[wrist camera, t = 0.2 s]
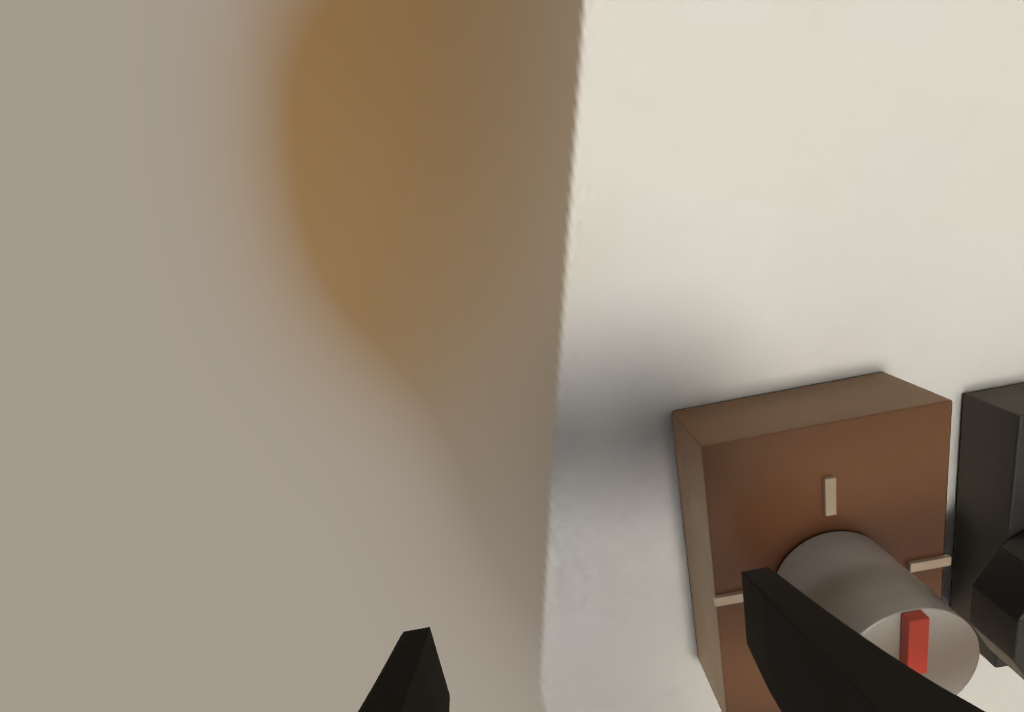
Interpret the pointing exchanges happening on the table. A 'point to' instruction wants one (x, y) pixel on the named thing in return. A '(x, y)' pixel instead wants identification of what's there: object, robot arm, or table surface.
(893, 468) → the dimmer panel
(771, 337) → the table surface
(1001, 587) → the switch block
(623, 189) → the table surface
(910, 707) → the robot arm
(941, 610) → the dial
